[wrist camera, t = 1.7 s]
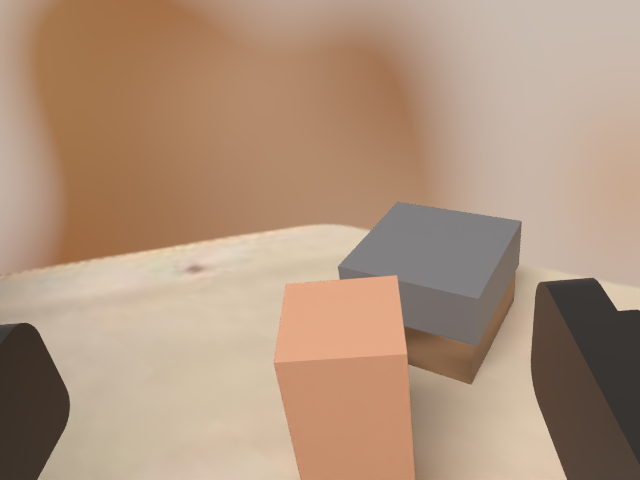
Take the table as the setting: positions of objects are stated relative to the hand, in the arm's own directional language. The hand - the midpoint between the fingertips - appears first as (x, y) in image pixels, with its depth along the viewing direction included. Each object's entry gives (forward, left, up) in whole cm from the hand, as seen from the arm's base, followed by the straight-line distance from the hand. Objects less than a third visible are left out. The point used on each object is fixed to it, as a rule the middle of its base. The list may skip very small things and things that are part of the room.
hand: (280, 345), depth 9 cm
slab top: (-19, +17, -17) cm, 30 cm away
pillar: (-10, +6, -21) cm, 23 cm away
